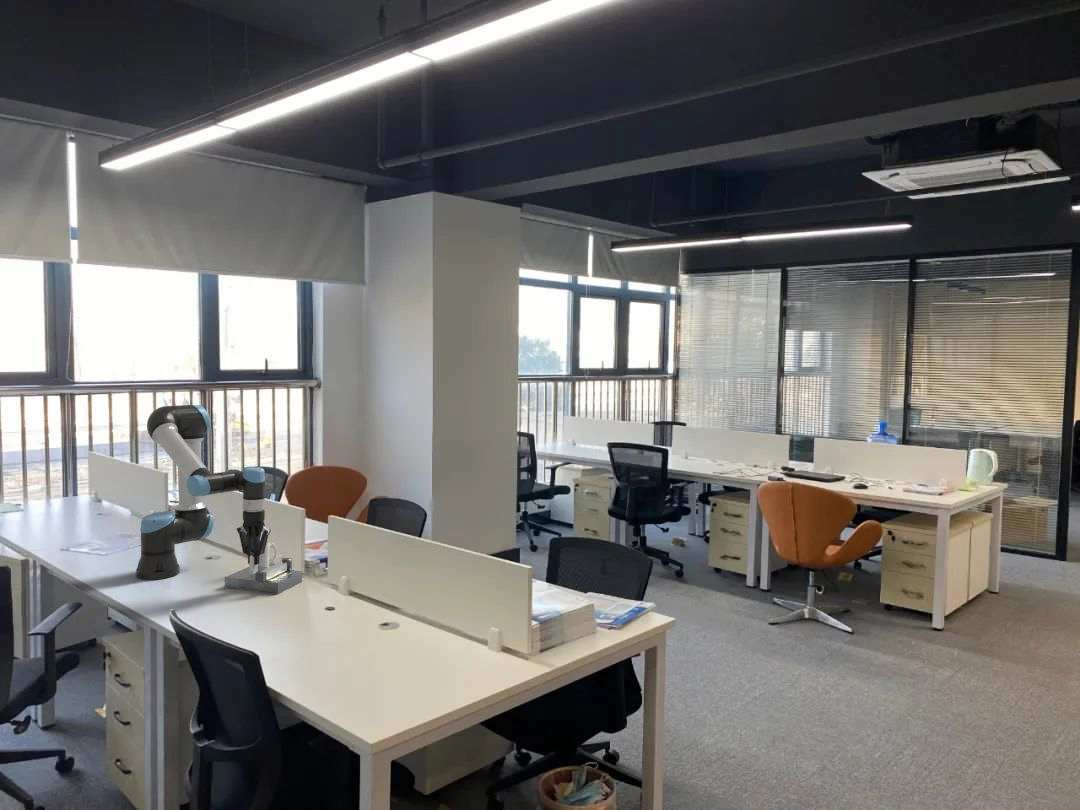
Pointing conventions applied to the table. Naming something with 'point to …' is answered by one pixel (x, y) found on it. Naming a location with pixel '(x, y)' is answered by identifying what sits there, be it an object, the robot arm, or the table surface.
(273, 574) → the cable arm
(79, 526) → the table surface
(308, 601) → the table surface
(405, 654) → the table surface
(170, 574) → the robot arm
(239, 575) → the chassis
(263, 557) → the mug
